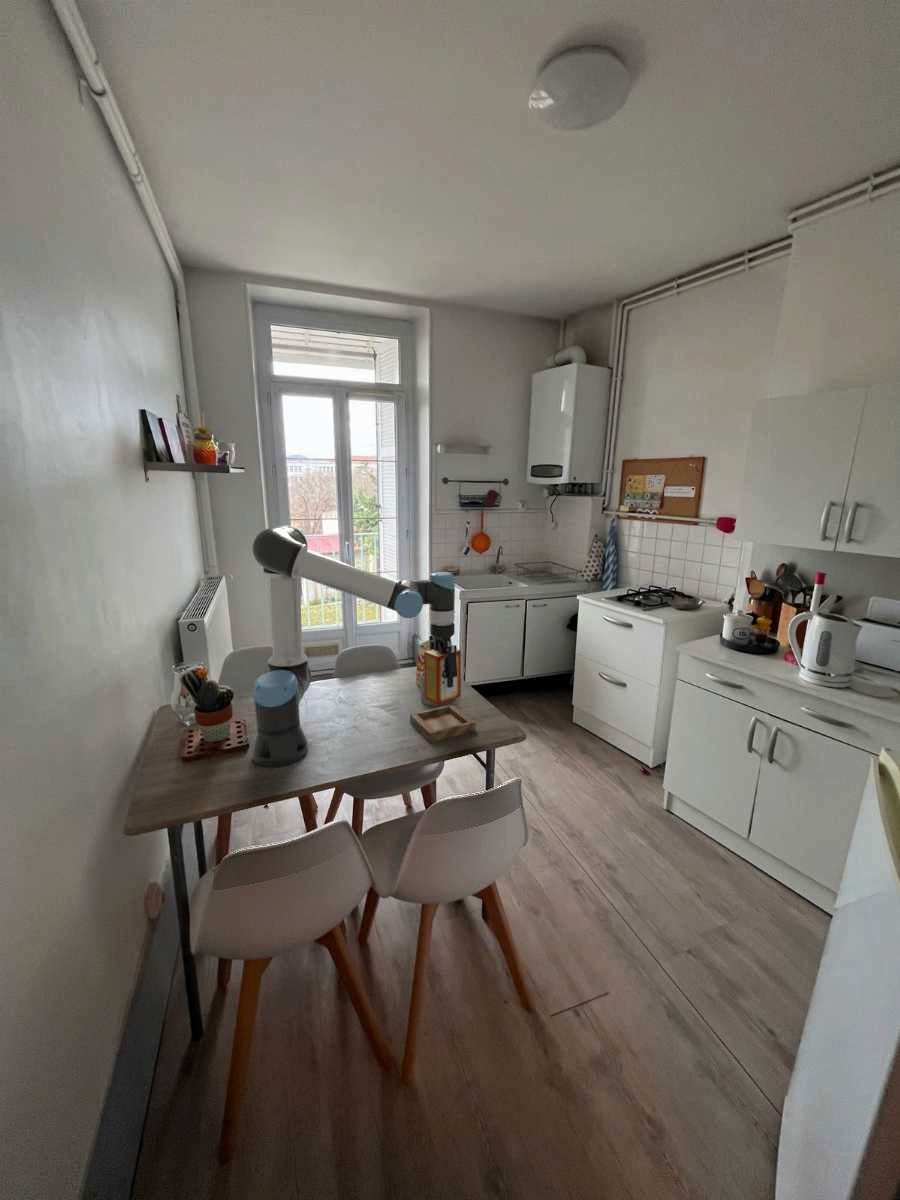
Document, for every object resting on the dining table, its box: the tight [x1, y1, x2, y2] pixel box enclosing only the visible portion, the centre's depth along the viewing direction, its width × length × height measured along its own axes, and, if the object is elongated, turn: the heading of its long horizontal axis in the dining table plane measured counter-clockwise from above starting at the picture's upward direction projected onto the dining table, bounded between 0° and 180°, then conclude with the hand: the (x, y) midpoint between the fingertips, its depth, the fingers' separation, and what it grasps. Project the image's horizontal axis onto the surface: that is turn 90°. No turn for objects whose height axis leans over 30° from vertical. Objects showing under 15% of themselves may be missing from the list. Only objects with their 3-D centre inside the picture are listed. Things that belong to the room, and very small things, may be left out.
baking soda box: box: [424, 648, 462, 706], centre depth 153 cm, size 10×6×16 cm
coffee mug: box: [420, 671, 448, 707], centre depth 177 cm, size 13×10×10 cm
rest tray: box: [409, 704, 476, 744], centre depth 157 cm, size 16×15×3 cm
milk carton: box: [415, 638, 430, 688], centre depth 189 cm, size 9×9×20 cm
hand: (442, 691), depth 155 cm, fingers closed on baking soda box, 7 cm apart
